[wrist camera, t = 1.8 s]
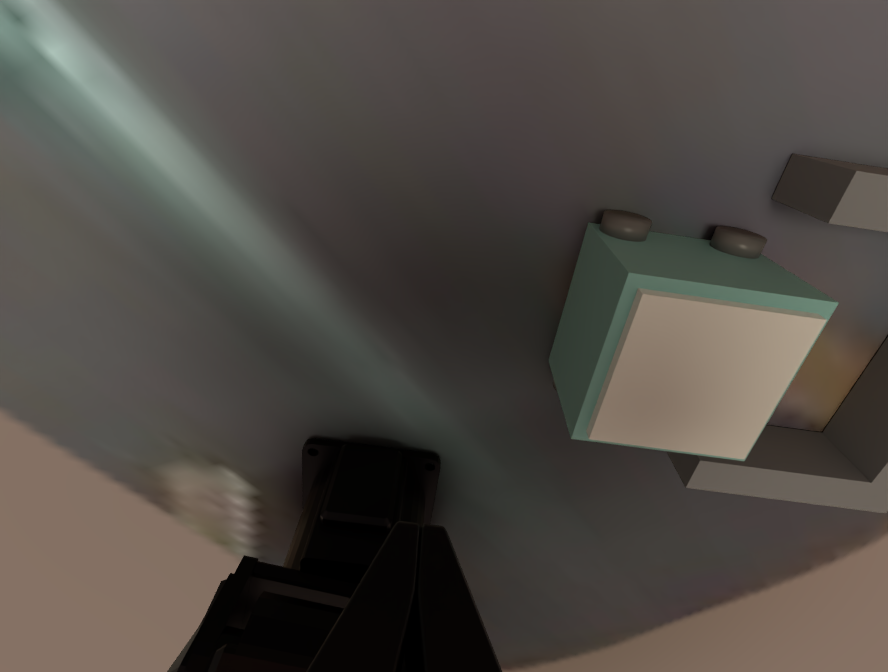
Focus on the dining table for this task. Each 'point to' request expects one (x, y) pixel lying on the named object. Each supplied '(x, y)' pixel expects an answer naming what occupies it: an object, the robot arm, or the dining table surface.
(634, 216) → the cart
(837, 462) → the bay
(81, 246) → the dining table surface
